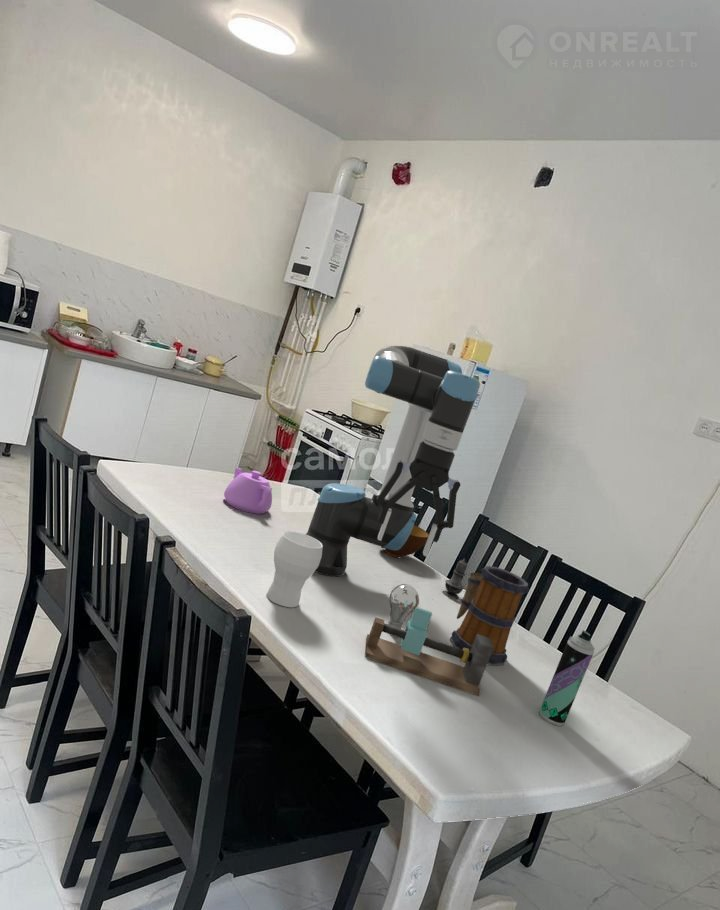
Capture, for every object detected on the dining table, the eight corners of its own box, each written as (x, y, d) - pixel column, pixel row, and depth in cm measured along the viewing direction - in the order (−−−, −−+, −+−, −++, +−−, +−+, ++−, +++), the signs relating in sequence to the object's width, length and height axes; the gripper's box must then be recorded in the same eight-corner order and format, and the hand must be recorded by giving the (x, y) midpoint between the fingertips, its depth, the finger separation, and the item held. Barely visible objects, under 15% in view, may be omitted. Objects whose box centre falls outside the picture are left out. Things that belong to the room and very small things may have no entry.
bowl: (360, 547, 223) (370, 518, 222) (378, 540, 240) (388, 513, 238) (409, 569, 217) (420, 540, 216) (424, 560, 234) (434, 533, 232)
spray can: (535, 707, 148) (569, 623, 145) (558, 714, 148) (593, 630, 146) (543, 722, 142) (579, 634, 139) (568, 728, 143) (604, 641, 140)
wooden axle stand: (364, 657, 143) (380, 613, 142) (366, 637, 153) (380, 597, 152) (478, 695, 144) (495, 652, 142) (472, 674, 154) (488, 633, 152)
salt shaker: (459, 601, 202) (473, 564, 201) (440, 594, 203) (454, 556, 201) (460, 596, 208) (474, 559, 206) (442, 588, 209) (455, 552, 207)
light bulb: (409, 634, 164) (426, 588, 163) (402, 642, 158) (419, 595, 156) (382, 621, 166) (399, 576, 164) (374, 630, 160) (391, 582, 158)
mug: (429, 622, 177) (456, 551, 174) (474, 629, 183) (501, 560, 180) (469, 663, 159) (499, 584, 157) (517, 669, 166) (547, 593, 163)
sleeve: (401, 649, 146) (415, 610, 145) (400, 641, 150) (414, 603, 149) (419, 655, 146) (433, 617, 145) (418, 647, 150) (432, 609, 149)
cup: (312, 605, 162) (332, 546, 159) (290, 614, 152) (311, 552, 150) (275, 585, 165) (294, 527, 163) (251, 594, 156) (271, 532, 154)
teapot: (282, 521, 222) (294, 486, 220) (241, 517, 212) (253, 480, 210) (248, 496, 238) (259, 463, 236) (209, 491, 227) (220, 457, 226)
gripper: (387, 430, 138) (351, 533, 141) (492, 466, 138) (453, 568, 142) (387, 427, 146) (353, 525, 149) (486, 461, 146) (450, 558, 149)
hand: (402, 546), depth 145 cm, fingers open, 9 cm apart
